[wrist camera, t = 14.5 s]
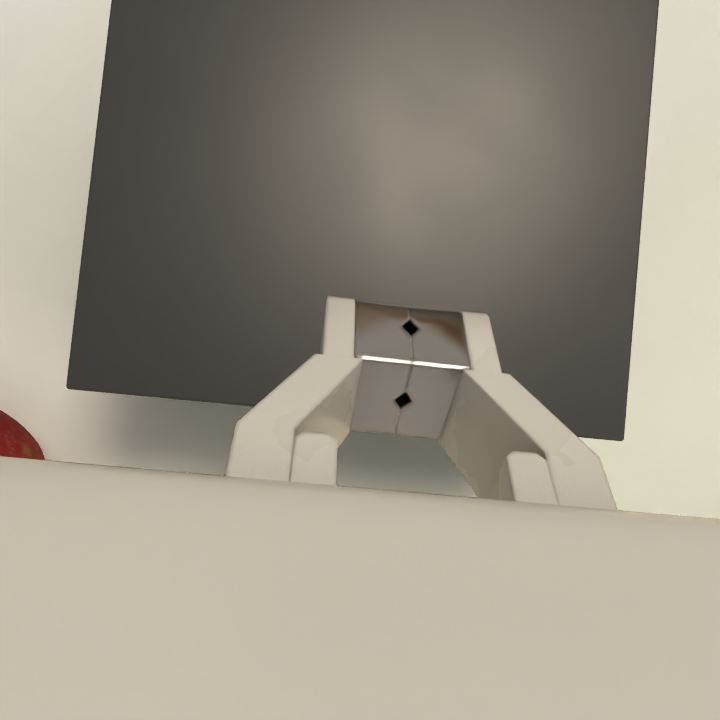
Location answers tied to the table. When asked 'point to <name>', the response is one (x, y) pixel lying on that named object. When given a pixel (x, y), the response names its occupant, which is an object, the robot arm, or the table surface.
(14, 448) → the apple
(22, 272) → the table surface
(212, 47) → the bin lid
